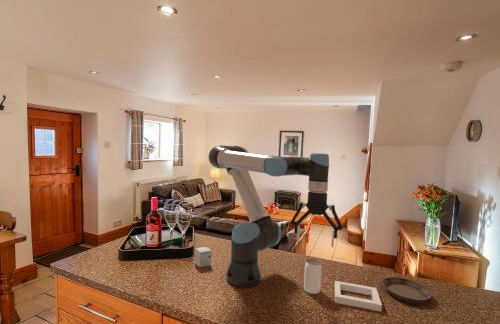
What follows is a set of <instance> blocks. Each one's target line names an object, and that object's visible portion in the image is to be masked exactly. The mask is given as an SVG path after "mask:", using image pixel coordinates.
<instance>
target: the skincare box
mask: <svg viewBox="0 0 500 324" xmlns="http://www.w3.org/2000/svg"><path fill="white" fill-rule="evenodd" d="M211 262H212V249H210V248H209V247H208V246H202V247H195V248H194V264H195V265H196V266H198V268H203V267H207V266H208V267H209V266H212V264H211Z"/></svg>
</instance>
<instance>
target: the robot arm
mask: <svg viewBox="0 0 500 324" xmlns="http://www.w3.org/2000/svg"><path fill="white" fill-rule="evenodd" d="M208 162H209V164H210V165H211V166H212V167H213V168H215V169H221V170H222V169H223V170H224V169H225V170H226V172H227V175H228V176H231V177H232V180H233V183H234V185H235V187H236V190H237V192H238V195H239V197H240V200H241V203H242V205H243V207H244V211H245V213H246V215H247V217H248V220H249V221H248V222H241V223H238V224H236V225H234V227H233V228H232V234H231V249H230V251H231V252H230V262H229V265H228V268H227V270H226V272H225V275H226V276H225V280H226V282H227V283H228V284H229V285H232V286H235V287H237V288H250V287H251V288H252V287H254V286H257V285H259V284H260V283H261V281H262V273H261V269H260V265H259V252H262V251H264V250H266V249H269V248H272V247H274V246H276V245H277V244H279V242H280V241H281V238H282V229H281V225H280V224H279V223H278V222H277V221H275V220H273V219H272V217H271V215H270V214H268V213H266V210H265V209H264V205H263V203H262V201H261V198H260V196H259V194H258V191H257V189H256V186H255V184H254V181H253V179H252V177H251V174H250V172H256V173H262V174H267V175H269V176H270V177H277V178H279V177H283V176H305V177H308V184H307V185H308V188H307V189H308V192H307V202H303V201H300V202H299V207H298V208H297V210H296V212H295V214H294V215H293V217H292V219H291V221H290V222H289V223H290V224H291V225H294V234H296V243H300V236H301V235H300V231H301V225H300V224H301V223H302V222H303V221H304V220H305V219H306V218H308V216H309V215H310V214H311V215H313V216H315V215H317V216H323V217H324V218H325V219H326V221H327V222H328V224H329V225H330V226H331V227H332V229H331V243H330V244H331V245H330V246H331V248H334V244H335V241H334V240H337V239H338V231H341V230H343V225H342V223H341V221H340V218H339V216H338V214H337V211H336V207H335V204H331V205H330V204H329V205H328V203H327V202H328V193H327V192H328V187H329V186H328V185H329V168H330V156H329V154H327V153H322V152H321V153H317V152H316V153H315V152H314V153H313V152H311V153H310V154H309V157H301V156H277V155H270V154H269V155H268V154H261V153H259V154H258V153H251V152H248V150H247V149H246V148H245V147H243V146H239V145H222V144H220V145H216V146H215V145H214V147H212V148H211V149H210V150H209V153H208ZM305 207H306V209H307V211H306V212H305V213H303V215H302V216H300V218H299V219H297V218H298V216H299V214H300V213H301V211H302V209H304V208H305ZM328 209H329V211H330V212H331V213H332V215H333V218H334V220H335V222H336V223H335V222H334V221H333V220H332V218H331V217H330V215H329V214H328V212H327V210H328Z"/></svg>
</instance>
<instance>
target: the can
mask: <svg viewBox="0 0 500 324" xmlns="http://www.w3.org/2000/svg"><path fill="white" fill-rule="evenodd" d="M304 264H305V265H304V278H303V290H304V291H305V292H306V293H307V294H309V295H318V294H319V293H320V292H321V281H322V265H321V261H320V260H318V259H314V258H309V259H306V261H305V263H304Z"/></svg>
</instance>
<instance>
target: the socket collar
mask: <svg viewBox="0 0 500 324" xmlns="http://www.w3.org/2000/svg"><path fill="white" fill-rule="evenodd" d="M341 291H345V292H351V293H357V294H361V295H366V296H370V297H371V299H366V298H361V297H356V296H351V295H344V294H342V293H341ZM334 303H335V304H341V305H345V306H351V307H354V308H355V307H356V308H361V309H365V310H366V309H367V310H371V311H376V312H381V313H382V308H383V304H382V301H381V298H380V296H379V292H378V290H377V287H373V286H367V285H361V284H357V283H349V282H344V281H339V280H334Z"/></svg>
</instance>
